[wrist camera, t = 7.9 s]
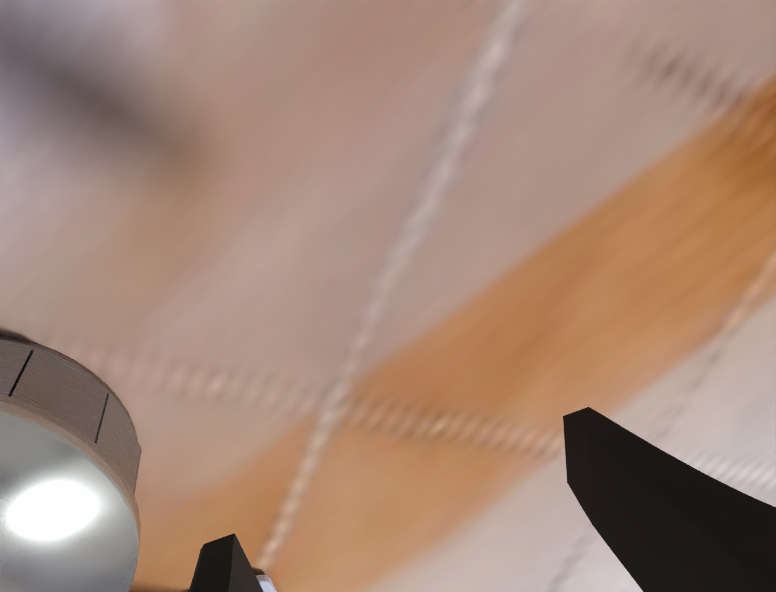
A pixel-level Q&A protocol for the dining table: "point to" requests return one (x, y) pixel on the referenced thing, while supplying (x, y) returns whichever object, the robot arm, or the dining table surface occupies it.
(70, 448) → the lid
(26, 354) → the pot
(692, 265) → the dining table surface
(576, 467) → the robot arm
